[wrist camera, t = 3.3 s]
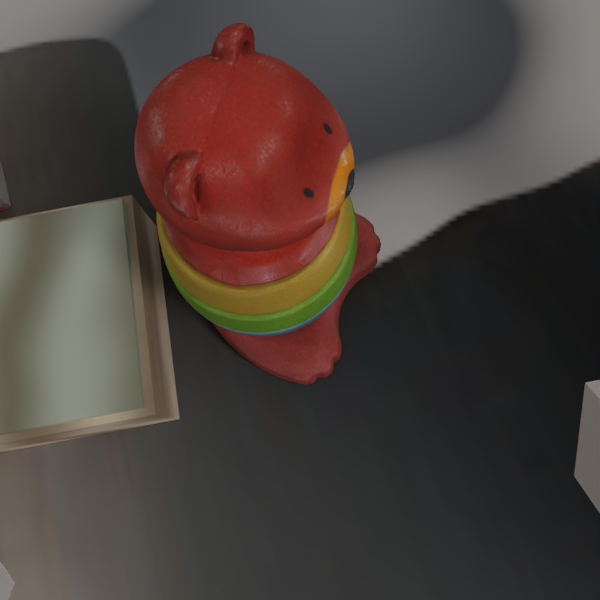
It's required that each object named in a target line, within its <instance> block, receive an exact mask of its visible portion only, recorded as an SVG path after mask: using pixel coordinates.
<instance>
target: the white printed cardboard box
mask: <svg viewBox="0 0 600 600" xmlns="http://www.w3.org/2000/svg"><path fill="white" fill-rule="evenodd" d="M8 208H11V204H10V199H9V195H8V191H7V186H6V182H5V177H4V173H3V168H2V164H1V159H0V211H2V210H5V209H8Z"/></svg>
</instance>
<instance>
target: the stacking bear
mask: <svg viewBox="0 0 600 600" xmlns="http://www.w3.org/2000/svg"><path fill="white" fill-rule="evenodd" d="M134 151H135V162H136V167H137V171H138V175H139V178H140V181H141V184H142V186H143V189H144V191H145V193H146V195H147V197H148V199H149V200H150V202H151V203H152V205H153V206H154V208H155V209H156V210H157V229H158V236H159V241H160V244H161V248H162V253H163V257H164V260H165V263H166V266H167V269H168V271H169V273H170V276H171V278H172V280H173V281H174V283H175V285H176V287H177V288H178V290H179V291H180V293H181V294H182V296H183V297H184V298H185V299H186V301H187V302H188V303H189V304H190V305H191V306H192V307H193V308H194V309H195V310H196V311H198V312H199V313H200V314H201V315H202V316H203V317H205V318H206V319H207V320H209V321H211V322H212V323H213V324H214V326H215V327H216V329H217V330H218V331H219V333H220V334H221V335H222V336H223V338H224V339H225V340H226V341H227V342H228V343H229V344H230V345H231V346H232V347H233V348H234V349H235V350H236V351H237V352H238V353H240V354H241V355H242V356H243V357H244V358H246V359H247V360H248V361H250V362H251V363H253V364H254V365H256V366H258V367H259V368H261V369H263V370H264V371H266V372H268V373H270V374H272V375H275V376H277V377H280V378H282V379H285V380H287V381H290V382H294V383H298V384H312V383H314V382H315V380H316V379H317V378H325V377H328V376H329V375H330V374H331V373H332V371H333V365H334V363H335V362H336V361H338V360H339V358H340V356H341V353H342V345H341V340H340V335H339V328H338V326H339V313H340V308H341V305H342V303H343V301H344V298H345V297H346V295H347V293H348V292H349V290H350V289H351V288H352V287H353V286H354V285H355V284H356V283H357V282H358V281H359V280H361V279H362V278H363V277H365V276H366V275H368V274H369V273H370V272H371V271H372V270H373V269H374V267H375V266H376V264H377V254H378V252H379V251H380V246H381V243H380V239H379V237H378V236H377V235H376V234H375V232H374V227H373V225H372V224H371V223H370V222H369V221H368V220H367V219H365V218H364V217H362V216H360V215H358V214H356V213H355V212H354V208H353V205H352V202H351V199H350V196H349V194H350V192H351V190H352V188H353V184H354V154H353V150H352V146H351V143H350V139H349V136H348V133H347V130H346V128H345V126H344V123H343V121H342V119H341V118H340V116H339V114H338V113H337V111H336V109H335V107H334V106H333V105H332V104H331V103H330V102H329V100H328V99H327V98H326V97H325V96H324V94H323V93H322V92H321V91H320V90H319V89H318V88H317V87H316V86H315V85H314V84H313V83H312V82H311V81H310V80H309V79H307V78H306V77H305V76H304V75H303V74H302V73H301V72H299V71H298V70H296V69H295V68H293V67H292V66H290V65H288V64H286V63H284V62H283V61H281V60H279V59H276V58H273V57H271V56H267V55H265V54H261V53H257V52H255V48H254V34H253V30H252V28H251V27H250V26H248V25H247V24H243V23H237V24H232V25H230V26H228V27H226V28H224V29H223V30H222V31H221V32H220V33H219V34H218V36H217V38H216V40H215V42H214V45H213V49H212V52H211V54H208V55H205V56H202V57H198V58H196V59H194V60H191V61H189V62H187V63H185V64H184V65H182V66H180V67H178V68H177V69H176V70H174V71H173V72H171V73H170V74H169V75H168V76H166V77H165V78H164V79H163V80H162V81H161V82H160V83H159V84H158V85H157V87H156V88H155V89H154V90H153V91H152V93H151V94H150V95H149V97H148V99H147V100H146V102H145V104H144V106H143V107H142V110H141V112H140V115H139V118H138V122H137V126H136V132H135V144H134Z"/></svg>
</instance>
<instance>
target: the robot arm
mask: <svg viewBox="0 0 600 600" xmlns="http://www.w3.org/2000/svg"><path fill="white" fill-rule="evenodd" d="M574 477H575V478H576V479H577V481H578V482H579V484H580V485H581V487H582V488H583V490H584V491H585V492H586V494H587V495H588V497H589V498H590V500H591V501H592V503H593V504H594V506H595V507H596V508H597V510H598V511H599V513H600V380H596V381H591V382H586V383H585V388H584V397H583V405H582V414H581V422H580V430H579V439H578V447H577V456H576V464H575V473H574ZM14 584H15V582H14V580H13V579H12V578H11V576H10V575H9V573H8V572H7V571H6V569H5V568H4V566H3V565H2V563H1V562H0V600H9V597H10V594H11V592H12V589H13V587H14Z"/></svg>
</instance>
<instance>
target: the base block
mask: <svg viewBox="0 0 600 600" xmlns="http://www.w3.org/2000/svg"><path fill="white" fill-rule="evenodd" d="M177 419H180V418H179V410H178V402H177V393H176V385H175V377H174V368H173V360H172V351H171V343H170V335H169V326H168V318H167V310H166V301H165V293H164V284H163V276H162V268H161V259H160V251H159V243H158V234H157V227H156V225H155V224H154V223H153V222H152V220H151V219H150V218H149V216H148V215H147V214H146V213H145V211H144V210H143V209H142V207H141V206H140V205H139V204H138V202H137V201H136V200H135V198H134V197H133V196H132V195H128V196H123V197H117V198H112V199H107V200H102V201H96V202H91V203H86V204H80V205H75V206H70V207H65V208H59V209H54V210H49V211H44V212H38V213H33V214H28V215H22V216H17V217H12V218H7V219H1V220H0V453H2V452H7V451H13V450H18V449H23V448H29V447H34V446H39V445H44V444H50V443H55V442H60V441H66V440H71V439H76V438H82V437H87V436H92V435H97V434H103V433H108V432H113V431H119V430H124V429H129V428H135V427H140V426H145V425H150V424H156V423H161V422H166V421H172V420H177Z"/></svg>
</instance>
